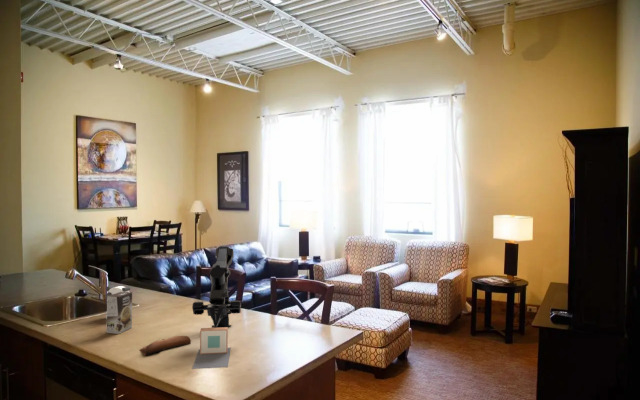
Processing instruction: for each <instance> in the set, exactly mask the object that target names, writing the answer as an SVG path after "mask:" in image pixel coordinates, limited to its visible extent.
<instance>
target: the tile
mask: <svg viewBox="0 0 640 400" xmlns="http://www.w3.org/2000/svg"><path fill="white" fill-rule="evenodd" d="M228 348H229V327H219V328H214V327H202V328H201V327H200V331H199V349H200V354H216V353H227V352H228Z"/></svg>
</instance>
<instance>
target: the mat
mask: <svg viewBox="0 0 640 400" xmlns="http://www.w3.org/2000/svg"><path fill="white" fill-rule="evenodd" d="M231 349H232V347H228V352H227V353H216V354H200V348H199V349H198V352H197V354H196V357H195V360H194V362H193V365H192V368H191V369H192V370H193V369H194V370H196V369H197V370H199V369H201V370H202V369H219V368H229V362H230V357H231V356H230V355H231Z"/></svg>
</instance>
